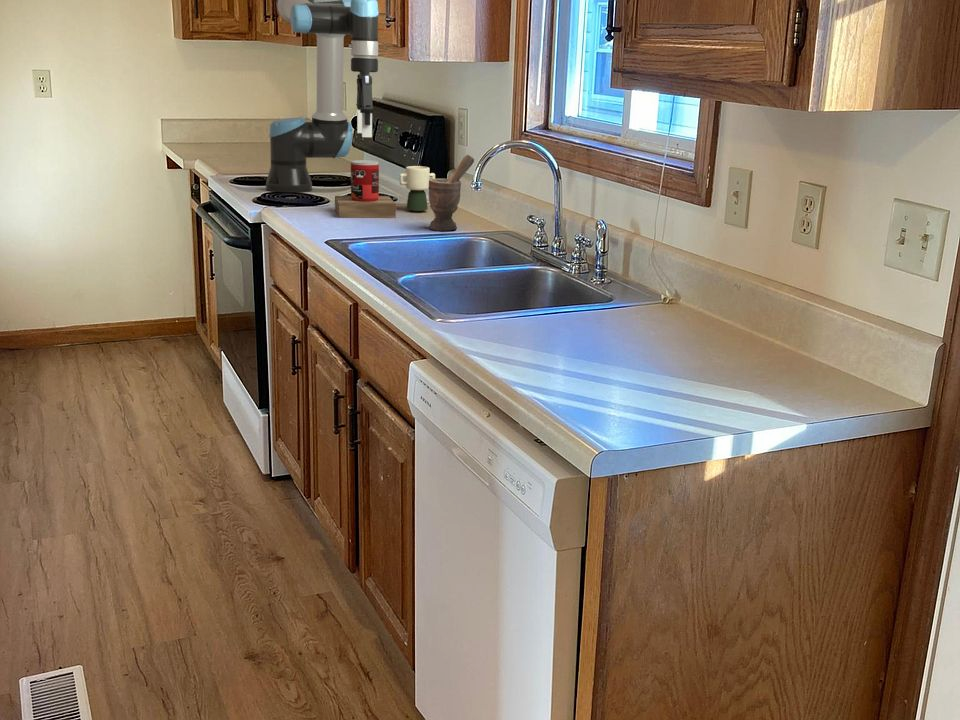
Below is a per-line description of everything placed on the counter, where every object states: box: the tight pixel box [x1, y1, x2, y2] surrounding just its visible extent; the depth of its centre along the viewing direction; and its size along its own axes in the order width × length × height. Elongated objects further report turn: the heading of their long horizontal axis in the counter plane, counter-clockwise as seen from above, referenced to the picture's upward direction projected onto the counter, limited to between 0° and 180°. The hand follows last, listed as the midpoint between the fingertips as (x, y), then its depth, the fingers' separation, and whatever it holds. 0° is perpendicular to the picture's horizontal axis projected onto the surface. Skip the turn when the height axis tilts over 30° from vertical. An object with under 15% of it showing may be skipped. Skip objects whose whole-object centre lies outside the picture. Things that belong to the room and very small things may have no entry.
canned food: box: [350, 159, 380, 202], centre depth 289 cm, size 8×8×11 cm
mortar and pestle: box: [428, 154, 475, 232], centre depth 268 cm, size 12×9×20 cm
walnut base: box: [334, 195, 397, 219], centre depth 292 cm, size 16×16×4 cm
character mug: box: [399, 165, 436, 212], centre depth 297 cm, size 11×7×13 cm, turn 110°
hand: (364, 135), depth 286 cm, fingers open, 13 cm apart
